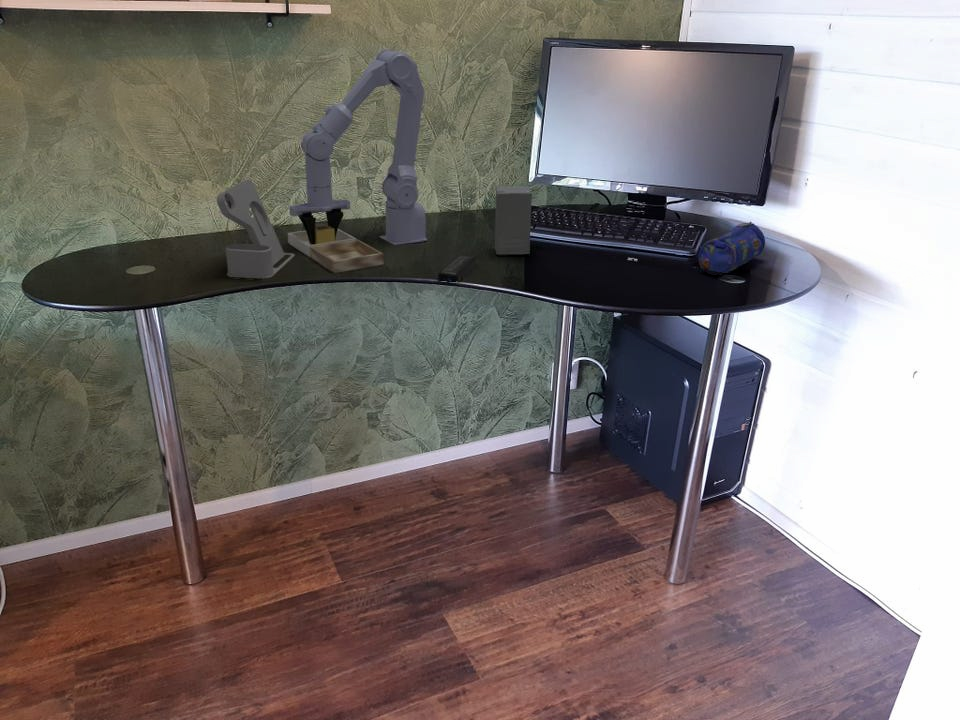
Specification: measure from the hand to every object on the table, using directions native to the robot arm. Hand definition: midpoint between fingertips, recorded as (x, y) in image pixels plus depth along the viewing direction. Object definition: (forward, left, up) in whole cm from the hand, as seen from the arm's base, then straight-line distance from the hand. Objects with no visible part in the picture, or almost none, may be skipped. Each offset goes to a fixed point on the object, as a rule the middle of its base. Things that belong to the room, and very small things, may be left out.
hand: (322, 242), depth 184 cm
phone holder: (+17, +6, -2) cm, 19 cm away
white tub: (0, 0, -2) cm, 2 cm away
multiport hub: (-18, +31, -2) cm, 36 cm away
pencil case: (-77, +59, -2) cm, 97 cm away
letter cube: (0, 0, -1) cm, 1 cm away
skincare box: (-38, +26, -2) cm, 45 cm away
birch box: (0, +13, -2) cm, 13 cm away
